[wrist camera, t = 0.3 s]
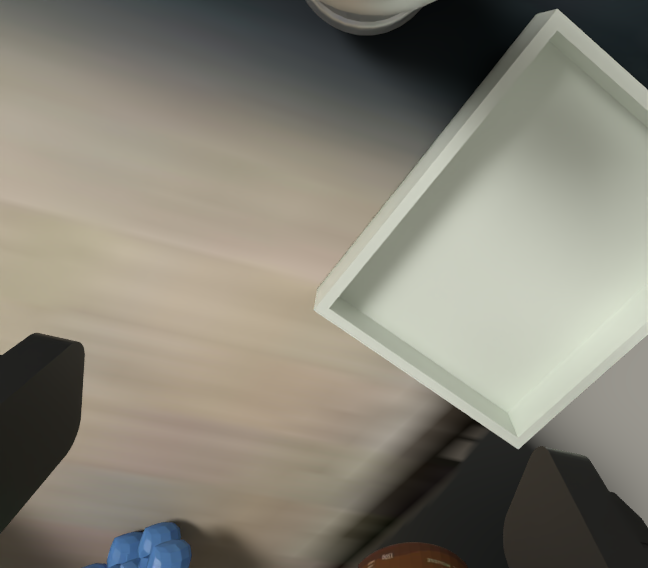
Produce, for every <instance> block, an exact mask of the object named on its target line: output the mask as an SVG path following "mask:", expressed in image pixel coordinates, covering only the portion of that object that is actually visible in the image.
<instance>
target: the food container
mask: <svg viewBox="0 0 648 568" xmlns="http://www.w3.org/2000/svg"><path fill="white" fill-rule="evenodd" d="M358 568H468V567H467V565H466V563H465V562H464V561H463V560H462V559H460V558H459V557H458V556H457V555H456V554H454V553H452V552H451V551H449V550H447V549H445V548H442V547H440V546H436V545H432V544H428V543H419V542H408V543H400V544H395V545H390V546H387V547H384V548H382V549H379V550H377V551H375V552H374V553H372V554H370V555H369V556H367V557H366V558H365V559H364V560H363V561H362V562H361V563H360V564H359V565H358Z"/></svg>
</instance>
